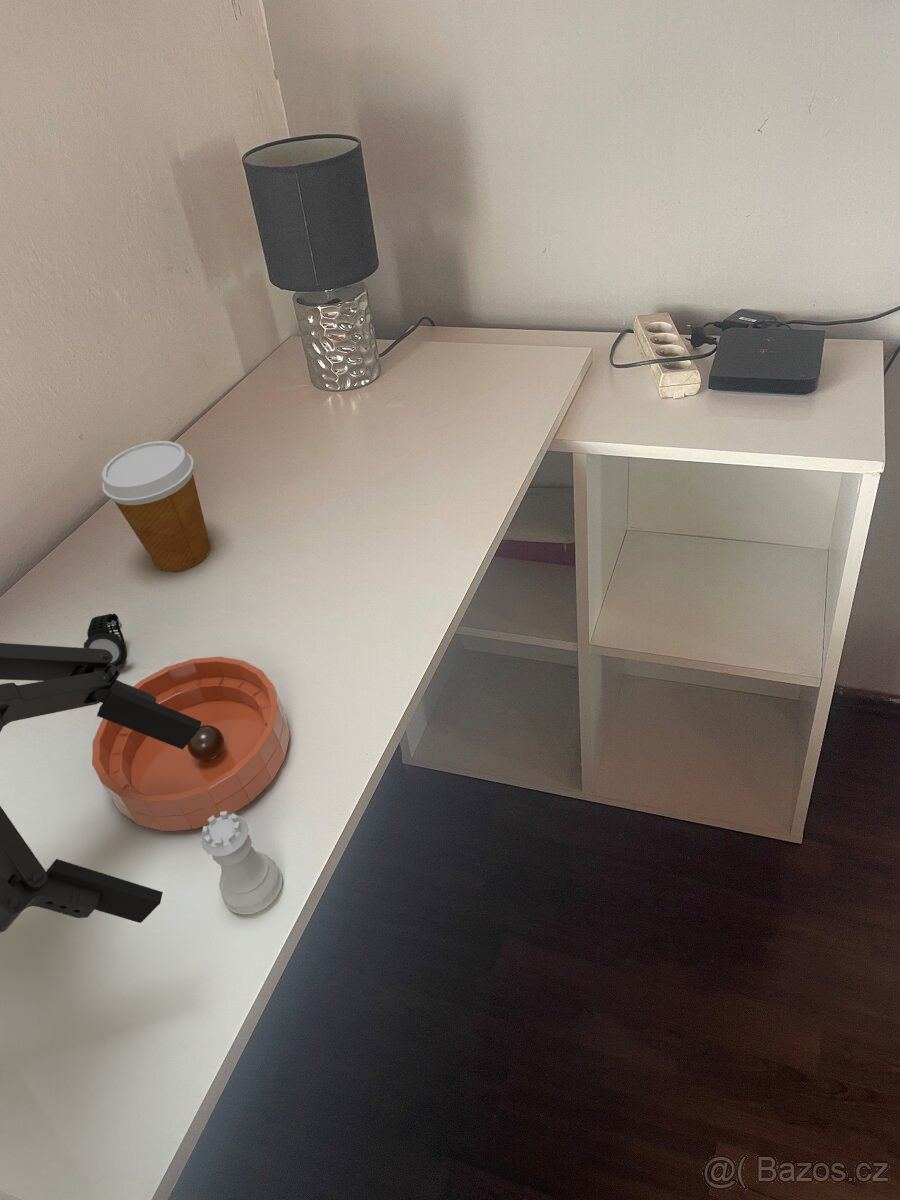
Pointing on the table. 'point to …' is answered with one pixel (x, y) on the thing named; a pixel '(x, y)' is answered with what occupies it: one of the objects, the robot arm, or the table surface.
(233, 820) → the rook chess piece
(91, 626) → the smartwatch
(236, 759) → the bowl
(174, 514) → the disposable coffee cup
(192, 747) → the bead
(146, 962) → the table surface
